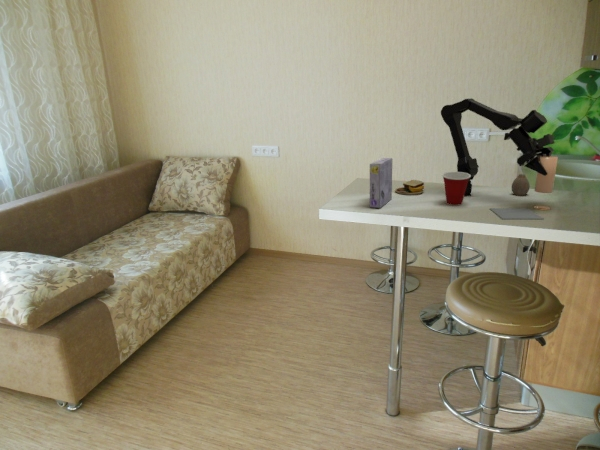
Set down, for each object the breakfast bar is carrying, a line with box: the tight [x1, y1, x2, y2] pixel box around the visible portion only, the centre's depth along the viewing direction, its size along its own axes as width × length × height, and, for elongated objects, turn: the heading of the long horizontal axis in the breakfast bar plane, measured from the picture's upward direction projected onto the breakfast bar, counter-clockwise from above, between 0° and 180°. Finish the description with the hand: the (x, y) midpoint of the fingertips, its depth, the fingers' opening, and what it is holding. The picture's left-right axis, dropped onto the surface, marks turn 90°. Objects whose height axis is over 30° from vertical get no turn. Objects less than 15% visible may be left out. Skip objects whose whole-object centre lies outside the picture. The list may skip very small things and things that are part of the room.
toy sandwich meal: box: [394, 179, 425, 196], centre depth 199 cm, size 12×14×5 cm
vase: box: [511, 173, 531, 197], centre depth 188 cm, size 7×7×9 cm
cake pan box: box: [369, 157, 393, 209], centre depth 179 cm, size 19×5×18 cm, turn 154°
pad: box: [489, 207, 545, 221], centre depth 161 cm, size 14×14×1 cm
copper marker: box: [533, 205, 551, 211], centre depth 169 cm, size 6×6×1 cm
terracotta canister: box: [534, 155, 559, 194], centre depth 165 cm, size 6×6×13 cm
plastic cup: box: [441, 171, 471, 206], centre depth 176 cm, size 11×11×12 cm
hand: (550, 173), depth 163 cm, fingers closed on terracotta canister, 6 cm apart
